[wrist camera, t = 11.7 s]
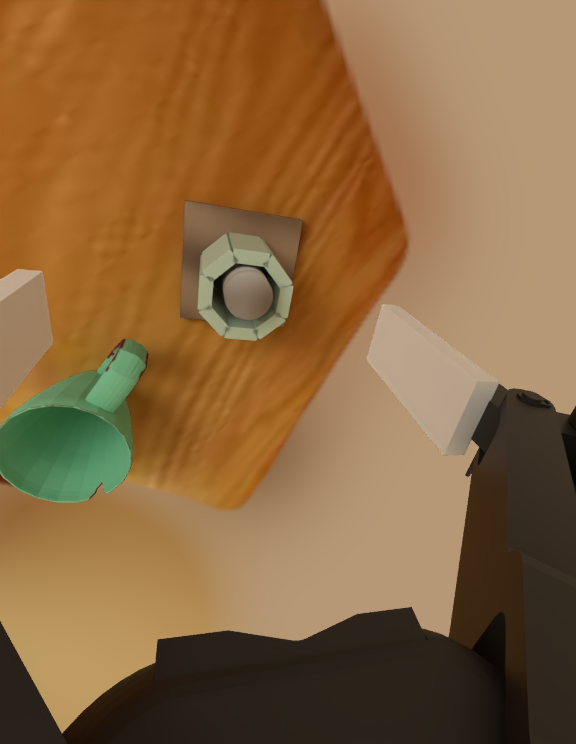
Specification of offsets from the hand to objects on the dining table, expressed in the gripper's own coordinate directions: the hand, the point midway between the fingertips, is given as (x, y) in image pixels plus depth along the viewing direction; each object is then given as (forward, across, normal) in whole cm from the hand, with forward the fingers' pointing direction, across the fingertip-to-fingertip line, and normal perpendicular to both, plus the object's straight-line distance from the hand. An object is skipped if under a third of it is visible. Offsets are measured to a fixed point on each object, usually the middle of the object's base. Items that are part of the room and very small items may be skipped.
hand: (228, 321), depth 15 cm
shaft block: (+21, +2, -3) cm, 21 cm away
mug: (+21, -9, -15) cm, 27 cm away
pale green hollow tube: (+19, +2, -3) cm, 20 cm away
